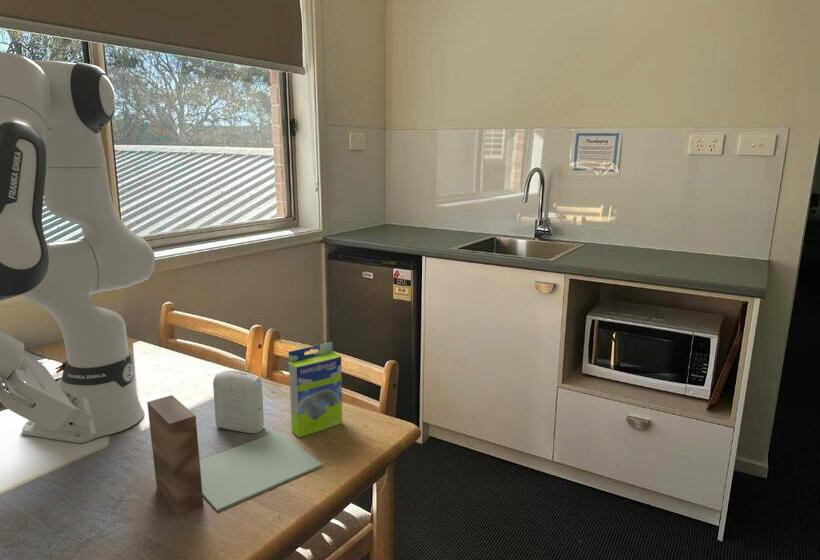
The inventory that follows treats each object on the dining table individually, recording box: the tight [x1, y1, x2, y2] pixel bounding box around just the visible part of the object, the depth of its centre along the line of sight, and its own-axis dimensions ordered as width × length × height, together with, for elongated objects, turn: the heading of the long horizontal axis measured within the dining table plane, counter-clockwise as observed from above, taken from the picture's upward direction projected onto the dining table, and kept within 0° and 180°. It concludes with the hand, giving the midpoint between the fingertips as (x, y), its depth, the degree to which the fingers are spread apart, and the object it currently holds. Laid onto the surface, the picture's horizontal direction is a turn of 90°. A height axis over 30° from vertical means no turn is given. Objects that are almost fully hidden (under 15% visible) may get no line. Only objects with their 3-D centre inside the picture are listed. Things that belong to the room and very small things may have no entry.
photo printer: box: [212, 370, 265, 434], centre depth 116 cm, size 10×4×12 cm, turn 72°
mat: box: [200, 431, 323, 513], centre depth 102 cm, size 20×16×1 cm
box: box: [287, 341, 343, 438], centre depth 116 cm, size 10×4×17 cm, turn 128°
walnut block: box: [146, 394, 204, 517], centre depth 92 cm, size 4×10×16 cm, turn 42°
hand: (81, 412), depth 81 cm, fingers open, 6 cm apart
